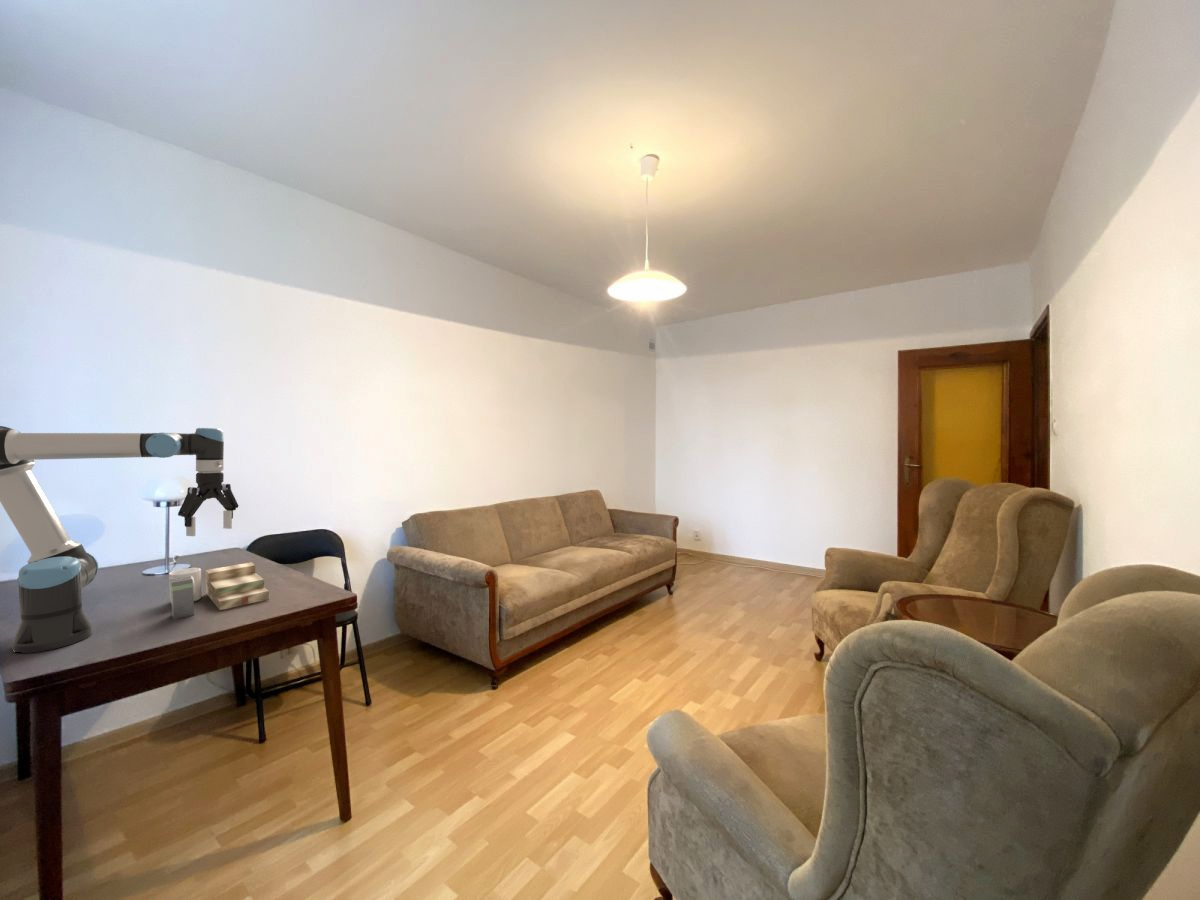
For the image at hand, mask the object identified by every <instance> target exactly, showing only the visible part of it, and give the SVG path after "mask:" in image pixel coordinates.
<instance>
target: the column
mask: <svg viewBox="0 0 1200 900" xmlns="http://www.w3.org/2000/svg"><path fill="white" fill-rule="evenodd" d="M170 588H171V602H170V604H171V605H170V606H171V608H170V609H171V616H172V619H173V620H177V619H181V618H186V617H192V616H194V615H195V606H194V604H195V603H194V602H195V601H194V600H193V579H192V578H191V576H187V577H182V578H176V579H170Z"/></svg>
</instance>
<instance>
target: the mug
mask: <svg viewBox="0 0 1200 900" xmlns="http://www.w3.org/2000/svg"><path fill="white" fill-rule="evenodd" d="M187 576H191V578H192V579H193V600H194V602H197V601H199V600H200V599H201V598H202V596H203V592H202V591H203V589H202V569H201V568H200V567H187V568H181V569H177V570H176V569H175V570H173V571H170V572H169V573H168V585H169V602H170V603H171V588H170V579H176V578H182V577H187Z"/></svg>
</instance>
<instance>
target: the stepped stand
mask: <svg viewBox="0 0 1200 900" xmlns="http://www.w3.org/2000/svg"><path fill="white" fill-rule="evenodd" d="M205 586H206V587H205V588H206V595H207V596H208V598H209V599H210V600H211V601H212V602H213V604H214V605H215V606H216V608H217V609H218V610H219V611H222V610H227V609H232V608H235V607H240V606H245V605H249V604H253V603H257V602H262V601H267V600H270V594H269V592H270V591H269V590H268V589H267V588H266V587H265V579H264V578H263V577H262V576H260V575H259V574H257V573H256V564H254V563H253V562H252V561H250V562H245V563H239V564H233V565H229V566H223V567H216V568H215V567H214V568H209V569H206V570H205Z"/></svg>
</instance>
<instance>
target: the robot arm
mask: <svg viewBox="0 0 1200 900" xmlns="http://www.w3.org/2000/svg"><path fill="white" fill-rule="evenodd" d="M224 447H225V446H224V430H223V429H221V428H216V427H215V428H214V427H213V428H211V427H210V428H209V427H197V428H195V432H192V433H185V432H184V433H180V432H179V433H178V432H152V433H151V432H147V433H145V432H144V433H142V432H125V433H123V432H122V433H121V432H120V433H119V432H116V433H115V432H114V433H113V432H101V433H99V432H88V433H87V432H76V433H75V432H21V431H19V430H17V429H14V428H11V427H7V426H5V425H4V426H3V425H0V504H1V505H2V508H3V509H4V511H5V513H6V514H7V516H8V518H9V519H10V521H11V523H12V524H13V526H14V528H15V529H16V530H17V532H18V534H19V536H20V537H21V539H22V541H23V542H24V544H25V546H26V547H27V549H28V551H29V552H30V554H31V555H30V557H29V558H28V560H27V563H26V564H25V565H23V566H22V567H21V568H20V569H19V571H18V576H17V584H18V595H19V597H18V599H19V609H20V610H19V611H20V623H19V626H18V628H17V630H16V633H15V636H14V638H13V640H12V642H11V644H12V645H11V647H12V649H13V650H14V651H15V652H22V653H21V654H31V653H32V654H33V653H37V652H38V653H39V652H44V651H45V652H46V651H49V650H54V649H58V648H62V647H67V646H70V645H73V644H76V643H79V642H82V641H83V640H85V639H87V638H89V637H90V636H91V635H93V626H92V624H91V622H90V621H89V618H88V617H87V615H86V613H85V612H84V610H83V598H82V597H83V595H82V589H84V588H85V587H86V586H88V585H90V584H91V583H92V582H93V580H94V579H95V578H96V576H97V574H98V571H99V567H100V566H99V562H98V560H97V558H96V557H95V556H94V555H92V554H91V553H89V552H87V550H85V547H84V545H83V544H82V543H81V542H78V541H73V540H72V539H71V536H69V533H68V531H67V530H66V528H65V527H64V525H63V523H62V522H61V519H60V518H59V516H58V515H57V512H56V510H55V509H54V507H53V506H52V504H51V502H50V501H49V499H48V498H47V495H46V494H45V492H44V490H43V488H42V486H41V484H39V481H38V479H37V477H36V476H35V474H34V473H33V471H32V469H33V468H34V466H35V465H36V462H35V461H36V460H38V461H39V460H41V461H43V460H71V459H72V460H76V459H78V460H79V459H116V458H117V459H118V458H119V459H120V458H121V459H123V458H124V459H125V458H129V459H130V458H160V459H161V458H163V459H164V458H170V457H171V458H172V457H174V456H195V472H196V474H195V483H196V484H197V487H192V486H189V487H188V488H187V493H186V496H185V497H184V500H183V502H182V504H181V505H180V508H179V511H178V513H177V516H179V517H182V518H183V519H184V527H185V528H186V530H185V532H186V533H185V535H186V537H196V516H194V515H195V513H196V512H198V510H199V509H200V508H201V506H202V504H203V503H204V502H205V501H206V500H210V499H215V500H217V502H218V503H219V504H220V505H221V506H222V507H223V508H224V509H225V510H223V511H222V514H223V522H222V523H223V529H225V530H226V529H227V530H228V529H229V530H230V529H233V524H232V523H233V519H234V511H236V510H237V509H238V508H239V503H238V502H237V501H238V500H237V499H236V498H235V495H234V493H233V491H232V488H231V487H232V486H231V484H230V483H223V482H224V477H225V476H224V472H222V471H224V455H225V454H224ZM12 649H11V650H12ZM15 652H14V653H15Z"/></svg>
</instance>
